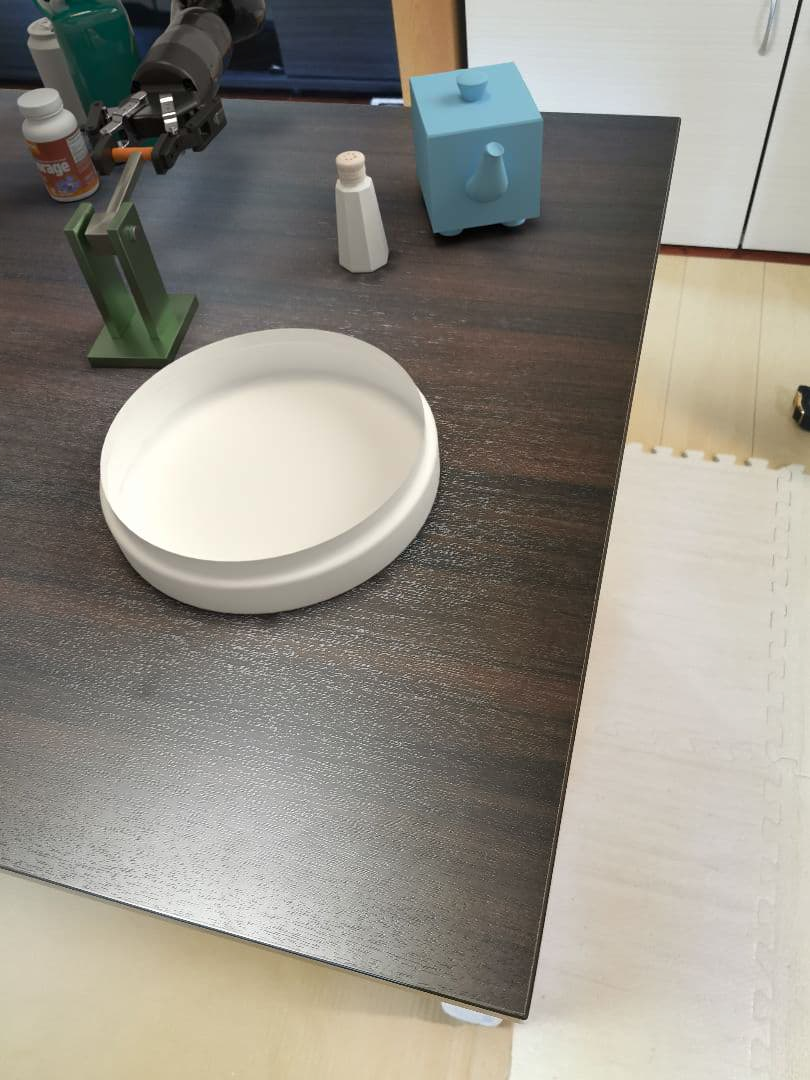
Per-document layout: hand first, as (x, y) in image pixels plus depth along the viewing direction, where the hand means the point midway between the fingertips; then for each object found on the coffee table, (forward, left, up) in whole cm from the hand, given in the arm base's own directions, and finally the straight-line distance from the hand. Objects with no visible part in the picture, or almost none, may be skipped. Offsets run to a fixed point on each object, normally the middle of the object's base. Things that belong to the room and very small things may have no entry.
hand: (128, 165), depth 78 cm
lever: (0, -3, -2) cm, 4 cm away
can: (-21, +40, -13) cm, 47 cm away
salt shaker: (+20, +3, -13) cm, 24 cm away
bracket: (-1, -8, -13) cm, 15 cm away
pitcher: (-13, +31, -13) cm, 36 cm away
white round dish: (+15, -28, -13) cm, 35 cm away
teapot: (+32, +10, -13) cm, 36 cm away
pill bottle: (-17, +21, -13) cm, 30 cm away
